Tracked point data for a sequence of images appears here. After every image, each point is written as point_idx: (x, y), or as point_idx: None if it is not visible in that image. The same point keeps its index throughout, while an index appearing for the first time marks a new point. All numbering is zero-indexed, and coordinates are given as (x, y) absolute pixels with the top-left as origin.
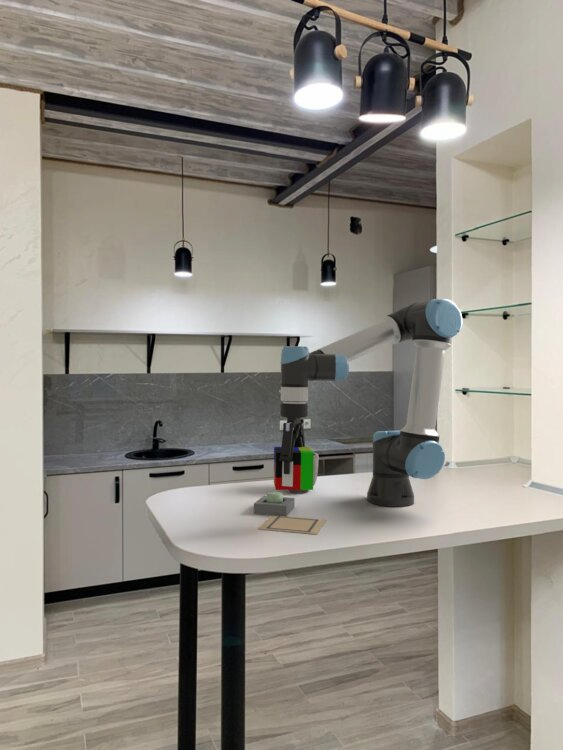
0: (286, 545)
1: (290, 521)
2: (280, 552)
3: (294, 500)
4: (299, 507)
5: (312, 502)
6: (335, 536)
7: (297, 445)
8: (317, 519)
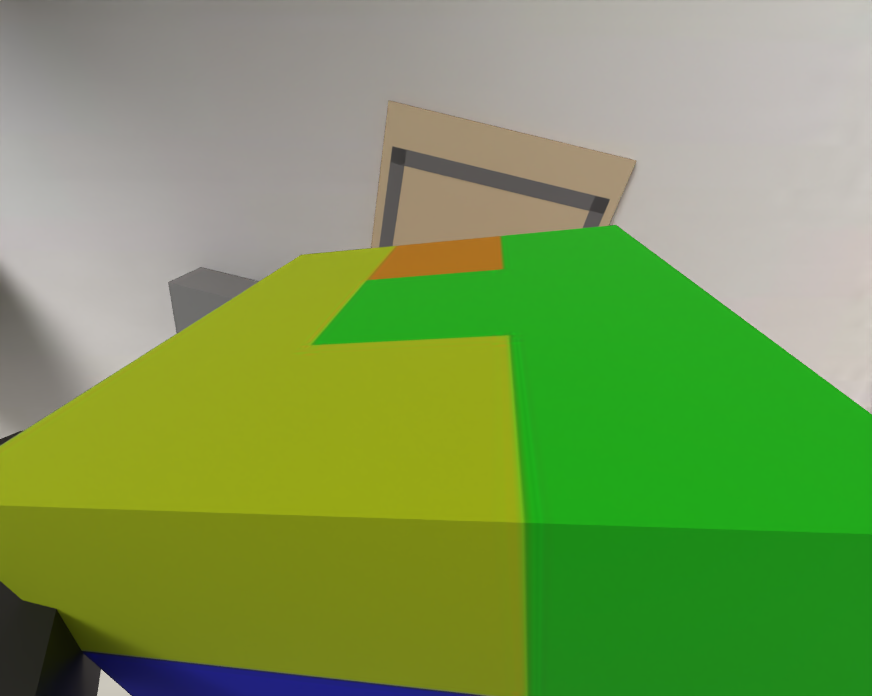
0: (762, 303)
1: None
2: (848, 325)
3: (180, 278)
4: (188, 244)
5: (72, 177)
6: (684, 41)
7: (73, 692)
8: (388, 153)
